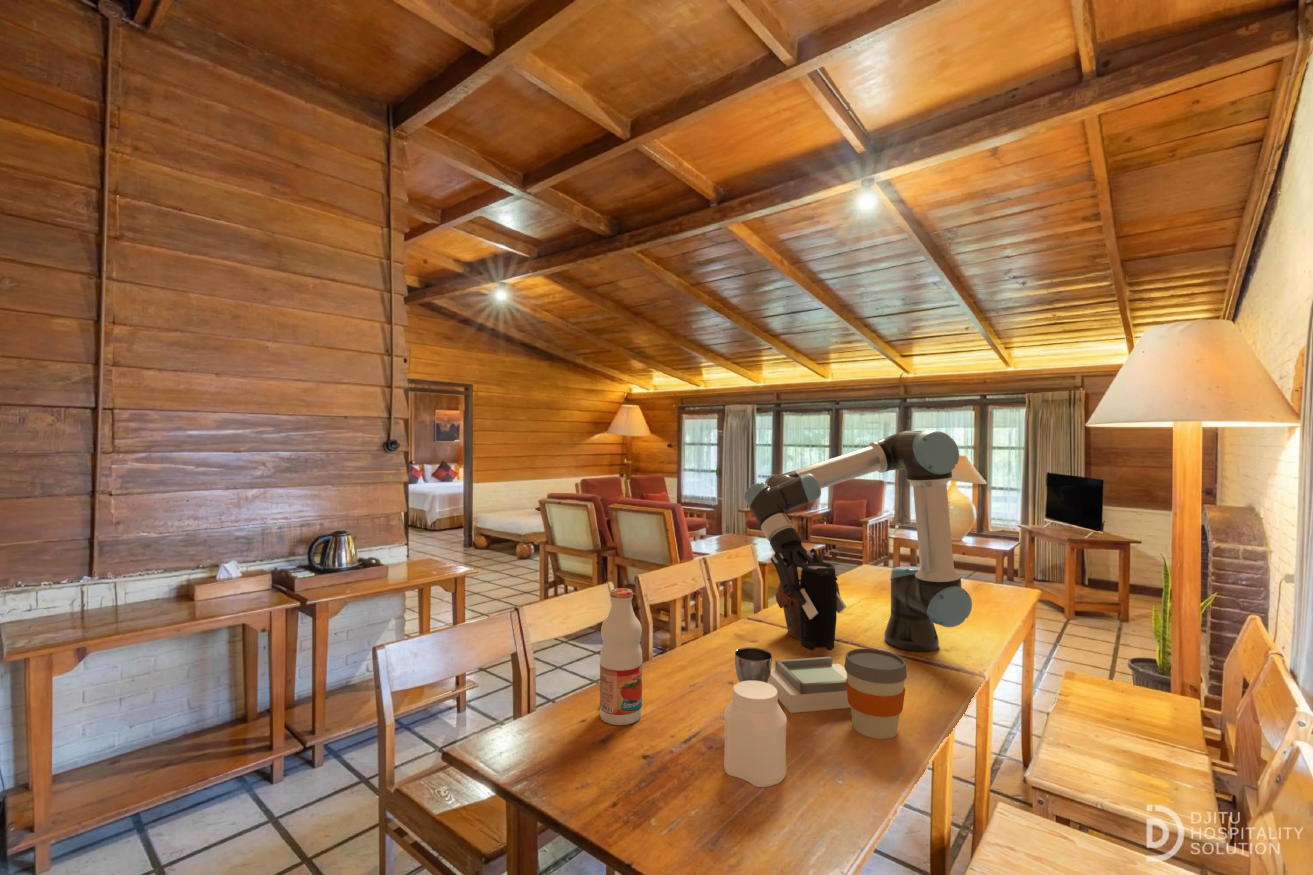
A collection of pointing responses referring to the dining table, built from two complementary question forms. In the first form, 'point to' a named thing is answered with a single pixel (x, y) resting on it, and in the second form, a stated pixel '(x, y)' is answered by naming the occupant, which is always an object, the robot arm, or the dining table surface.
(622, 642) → the fruit juice
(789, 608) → the brown tapered open container
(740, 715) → the jar
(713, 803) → the dining table surface
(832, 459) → the robot arm
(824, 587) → the portable speaker
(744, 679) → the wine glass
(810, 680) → the dock
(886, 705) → the reusable coffee cup
